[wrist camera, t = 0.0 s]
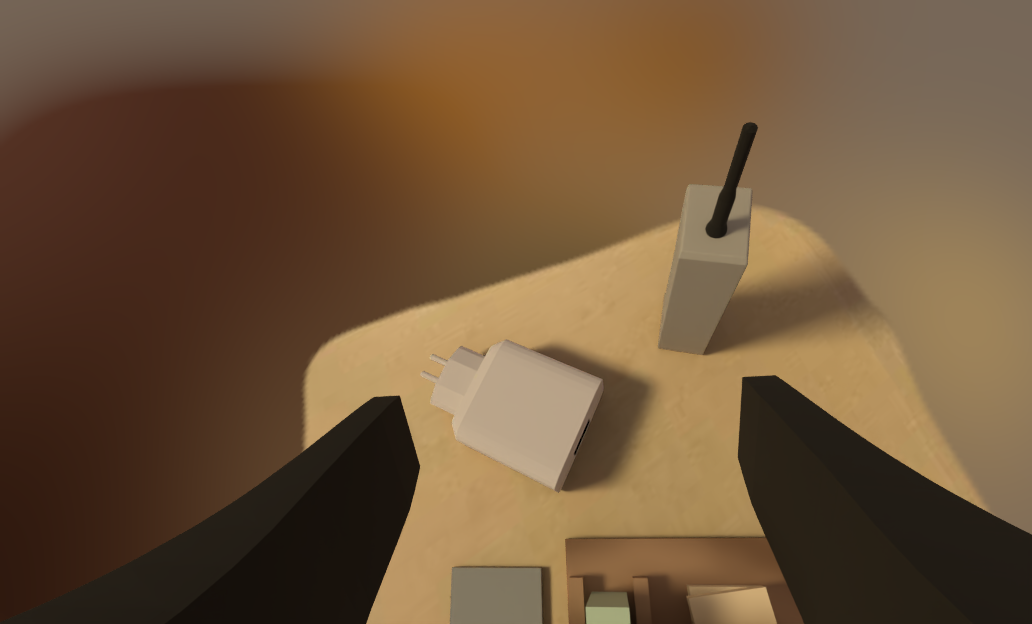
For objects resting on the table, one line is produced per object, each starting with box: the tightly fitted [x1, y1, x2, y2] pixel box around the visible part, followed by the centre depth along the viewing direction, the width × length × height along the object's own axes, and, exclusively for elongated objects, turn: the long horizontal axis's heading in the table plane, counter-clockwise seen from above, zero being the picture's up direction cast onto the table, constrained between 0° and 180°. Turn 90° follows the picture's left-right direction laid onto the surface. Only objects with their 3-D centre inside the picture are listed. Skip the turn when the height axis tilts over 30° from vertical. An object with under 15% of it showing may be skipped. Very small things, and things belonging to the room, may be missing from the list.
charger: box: [420, 340, 604, 493], centre depth 42 cm, size 5×9×15 cm
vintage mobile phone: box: [658, 123, 758, 355], centre depth 33 cm, size 4×5×25 cm
